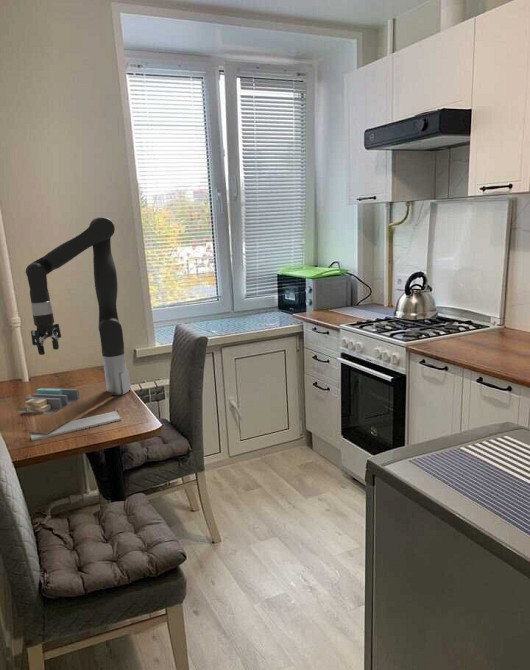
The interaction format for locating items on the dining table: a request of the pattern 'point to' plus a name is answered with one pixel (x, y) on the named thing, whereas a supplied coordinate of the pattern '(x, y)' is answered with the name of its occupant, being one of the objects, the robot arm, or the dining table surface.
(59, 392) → the teal slat
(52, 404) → the rack
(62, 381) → the dining table surface
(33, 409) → the block
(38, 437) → the baseboard molding
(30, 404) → the offcut top
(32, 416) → the dining table surface
